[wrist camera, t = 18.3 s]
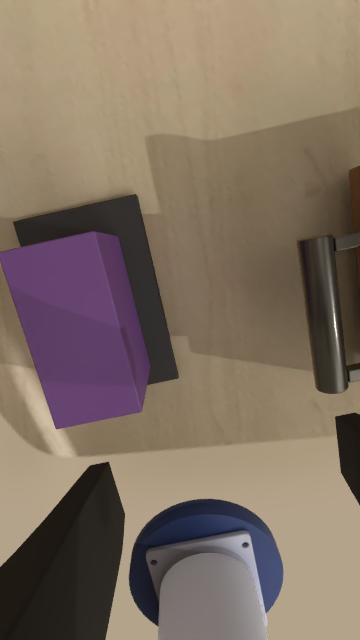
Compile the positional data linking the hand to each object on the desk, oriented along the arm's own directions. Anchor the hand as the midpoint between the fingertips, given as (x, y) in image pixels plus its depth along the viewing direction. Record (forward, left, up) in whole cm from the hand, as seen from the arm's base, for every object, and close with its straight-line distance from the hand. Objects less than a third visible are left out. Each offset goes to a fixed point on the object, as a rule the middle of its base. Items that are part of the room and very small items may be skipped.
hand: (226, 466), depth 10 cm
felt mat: (+5, +5, -10) cm, 12 cm away
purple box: (+4, +5, -10) cm, 12 cm away
